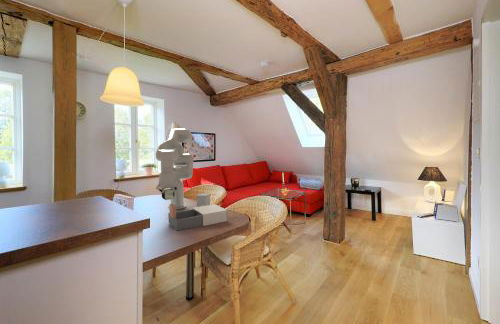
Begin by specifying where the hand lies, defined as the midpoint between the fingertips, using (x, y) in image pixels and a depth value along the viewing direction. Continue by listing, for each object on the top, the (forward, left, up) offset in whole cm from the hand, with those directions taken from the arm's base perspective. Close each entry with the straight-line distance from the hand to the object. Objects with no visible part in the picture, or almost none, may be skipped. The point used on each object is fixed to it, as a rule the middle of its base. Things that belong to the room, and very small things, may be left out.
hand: (168, 197), depth 157 cm
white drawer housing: (+16, +21, -14) cm, 30 cm away
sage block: (0, 0, -1) cm, 1 cm away
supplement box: (-3, +26, -14) cm, 30 cm away
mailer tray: (+16, +7, -14) cm, 22 cm away
